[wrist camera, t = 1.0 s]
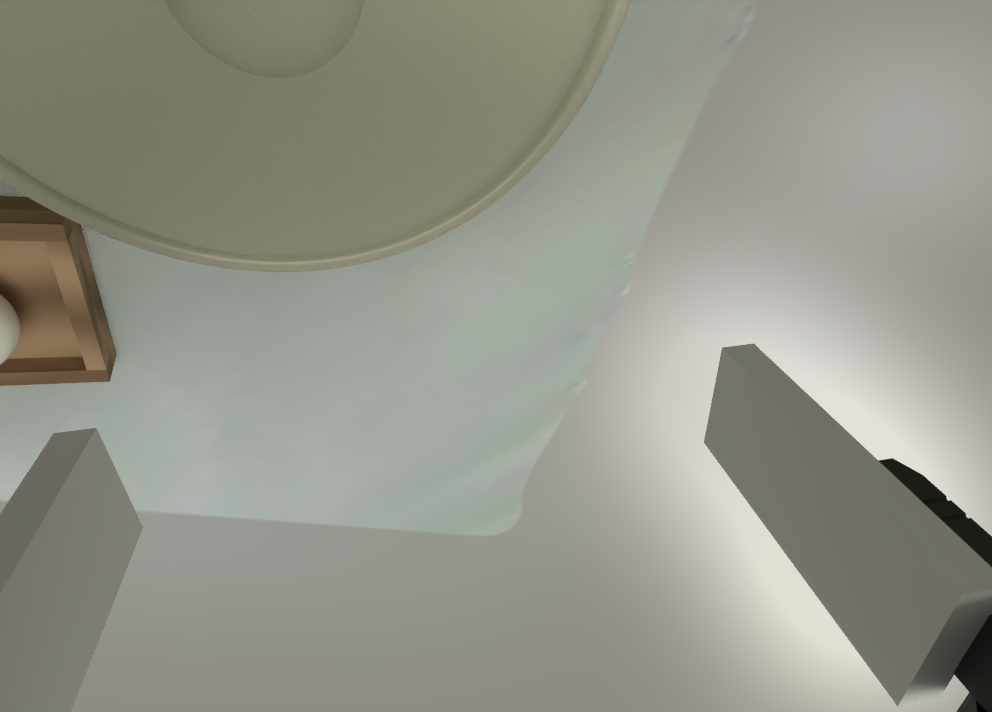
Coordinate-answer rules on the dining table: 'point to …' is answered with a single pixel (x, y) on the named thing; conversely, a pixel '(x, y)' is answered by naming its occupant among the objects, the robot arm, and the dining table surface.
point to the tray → (51, 299)
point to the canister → (288, 117)
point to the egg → (8, 329)
